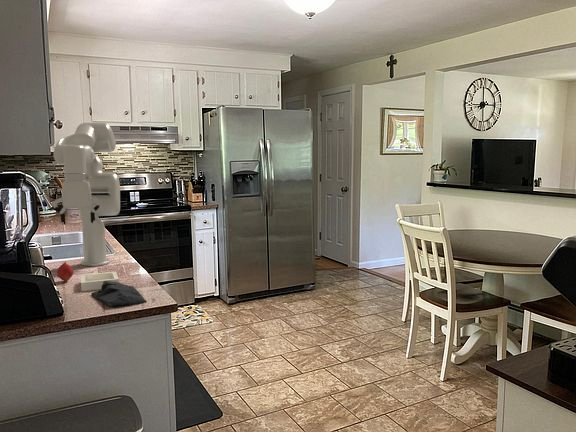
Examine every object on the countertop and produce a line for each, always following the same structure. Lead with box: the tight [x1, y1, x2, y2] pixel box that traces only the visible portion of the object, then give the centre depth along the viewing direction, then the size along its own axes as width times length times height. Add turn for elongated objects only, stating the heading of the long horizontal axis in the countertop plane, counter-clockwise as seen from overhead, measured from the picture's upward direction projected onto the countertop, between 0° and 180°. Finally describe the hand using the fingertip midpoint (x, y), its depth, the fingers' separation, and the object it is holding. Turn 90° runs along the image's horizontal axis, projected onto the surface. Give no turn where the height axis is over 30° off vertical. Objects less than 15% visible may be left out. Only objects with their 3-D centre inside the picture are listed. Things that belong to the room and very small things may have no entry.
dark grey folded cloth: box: [91, 281, 148, 307], centre depth 162 cm, size 15×22×5 cm
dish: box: [80, 270, 120, 292], centre depth 179 cm, size 13×13×3 cm
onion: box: [56, 261, 74, 282], centre depth 183 cm, size 6×6×8 cm
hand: (78, 223), depth 176 cm, fingers open, 9 cm apart
